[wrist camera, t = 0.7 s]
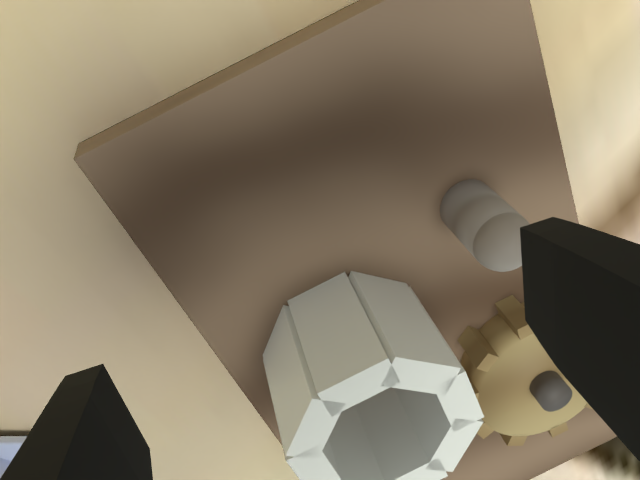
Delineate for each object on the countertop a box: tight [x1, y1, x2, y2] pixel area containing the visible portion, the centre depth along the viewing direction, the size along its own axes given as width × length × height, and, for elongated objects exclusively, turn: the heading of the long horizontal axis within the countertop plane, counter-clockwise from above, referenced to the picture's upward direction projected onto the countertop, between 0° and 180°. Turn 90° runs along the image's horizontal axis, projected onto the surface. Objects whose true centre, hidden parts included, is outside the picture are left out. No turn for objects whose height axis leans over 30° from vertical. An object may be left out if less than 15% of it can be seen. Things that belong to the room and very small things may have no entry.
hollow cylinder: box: [263, 271, 484, 480], centre depth 20 cm, size 6×6×4 cm
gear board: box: [74, 0, 617, 480], centre depth 21 cm, size 22×13×4 cm, turn 23°
